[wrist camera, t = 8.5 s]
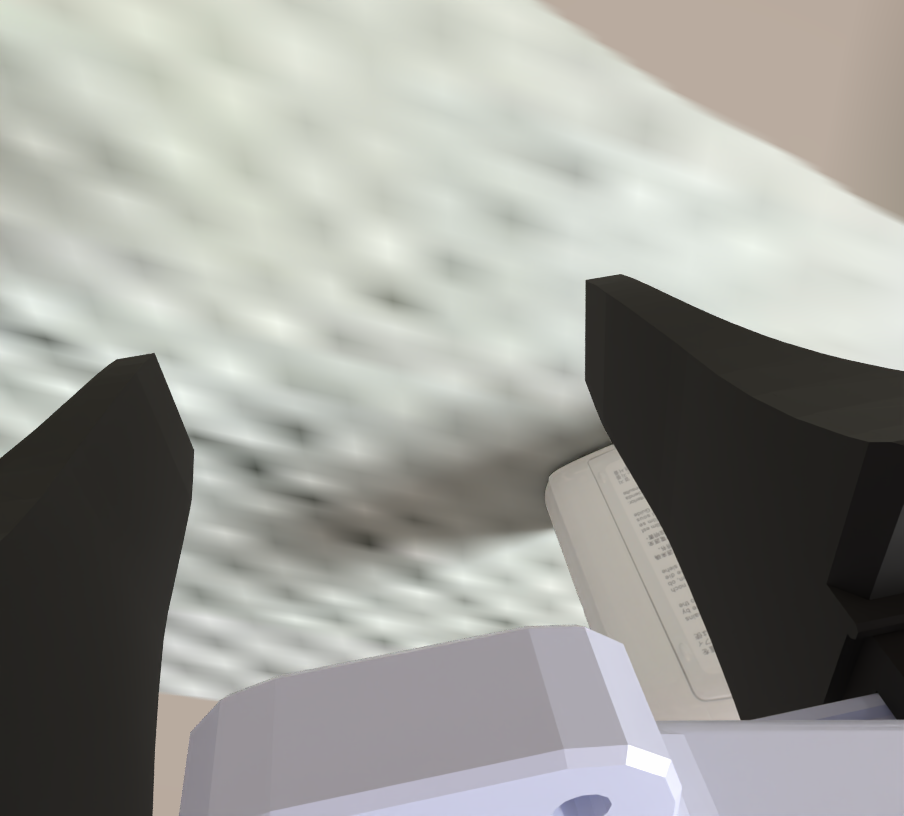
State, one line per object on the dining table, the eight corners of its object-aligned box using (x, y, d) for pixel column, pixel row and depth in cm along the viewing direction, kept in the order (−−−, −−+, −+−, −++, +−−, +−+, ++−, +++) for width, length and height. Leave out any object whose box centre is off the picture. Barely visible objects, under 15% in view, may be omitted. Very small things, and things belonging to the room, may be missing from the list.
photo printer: (558, 538, 31) (676, 849, 21) (526, 470, 28) (644, 786, 18) (793, 444, 30) (1034, 723, 20) (781, 365, 27) (1051, 639, 17)
